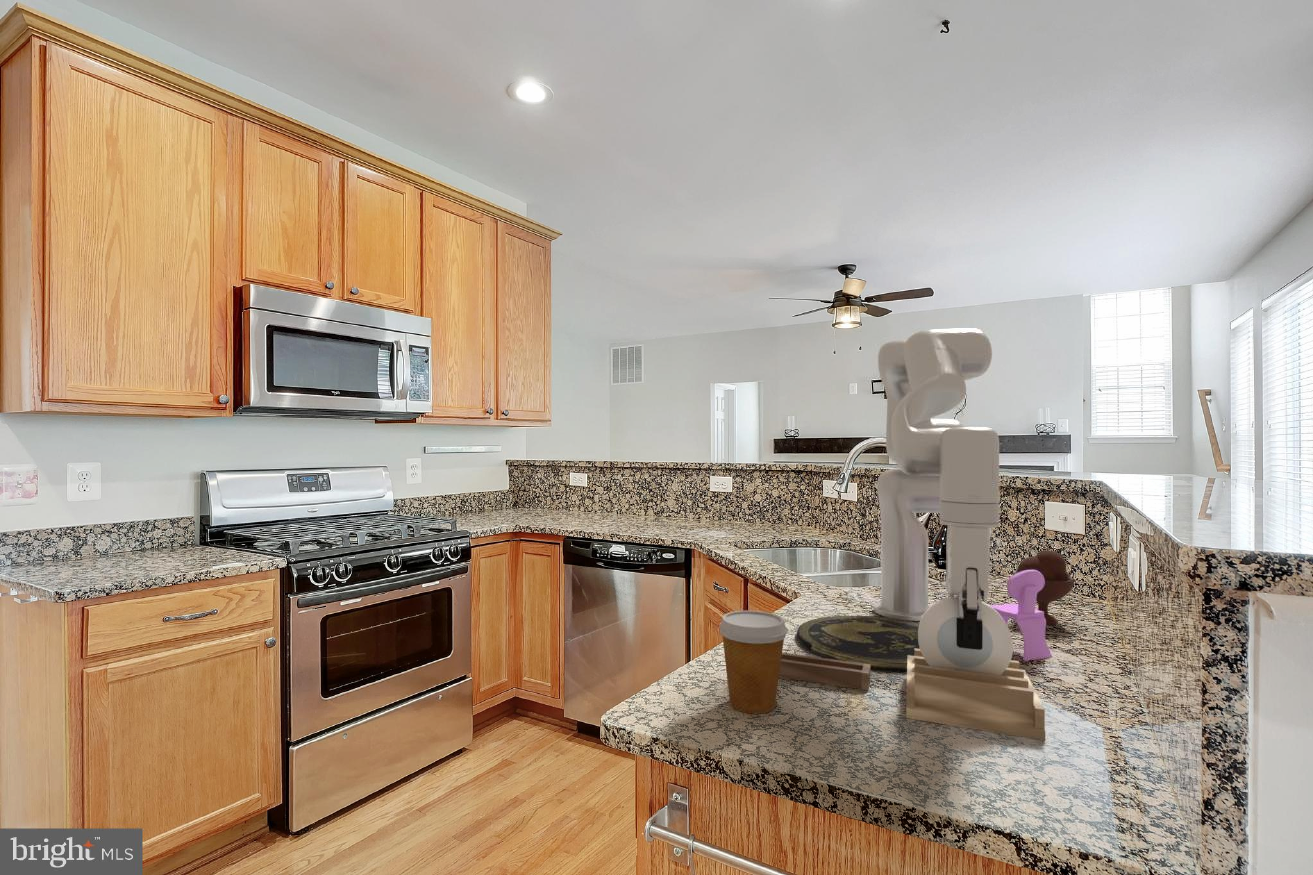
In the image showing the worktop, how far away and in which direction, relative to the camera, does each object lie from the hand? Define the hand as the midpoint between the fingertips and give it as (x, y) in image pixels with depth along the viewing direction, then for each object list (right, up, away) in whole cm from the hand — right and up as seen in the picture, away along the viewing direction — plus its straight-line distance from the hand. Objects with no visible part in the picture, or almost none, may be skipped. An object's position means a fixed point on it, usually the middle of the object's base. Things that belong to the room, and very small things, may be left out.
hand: (968, 644), depth 88 cm
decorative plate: (-3, -9, +27) cm, 29 cm away
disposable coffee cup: (-30, -8, 0) cm, 32 cm away
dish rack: (0, -9, 0) cm, 9 cm away
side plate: (0, +1, 0) cm, 1 cm away
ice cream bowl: (+37, -10, +43) cm, 58 cm away
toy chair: (+21, -9, +24) cm, 33 cm away
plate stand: (-19, -8, +10) cm, 23 cm away
